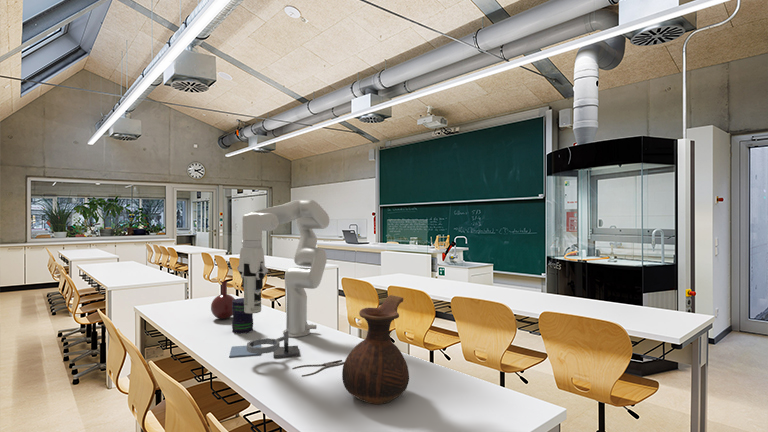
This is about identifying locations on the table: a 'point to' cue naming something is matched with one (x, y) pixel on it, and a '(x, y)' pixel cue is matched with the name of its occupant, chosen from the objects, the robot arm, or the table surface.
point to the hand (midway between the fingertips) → (252, 287)
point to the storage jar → (241, 318)
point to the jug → (377, 358)
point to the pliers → (326, 365)
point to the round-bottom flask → (222, 304)
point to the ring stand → (274, 347)
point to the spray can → (251, 292)
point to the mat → (241, 351)
